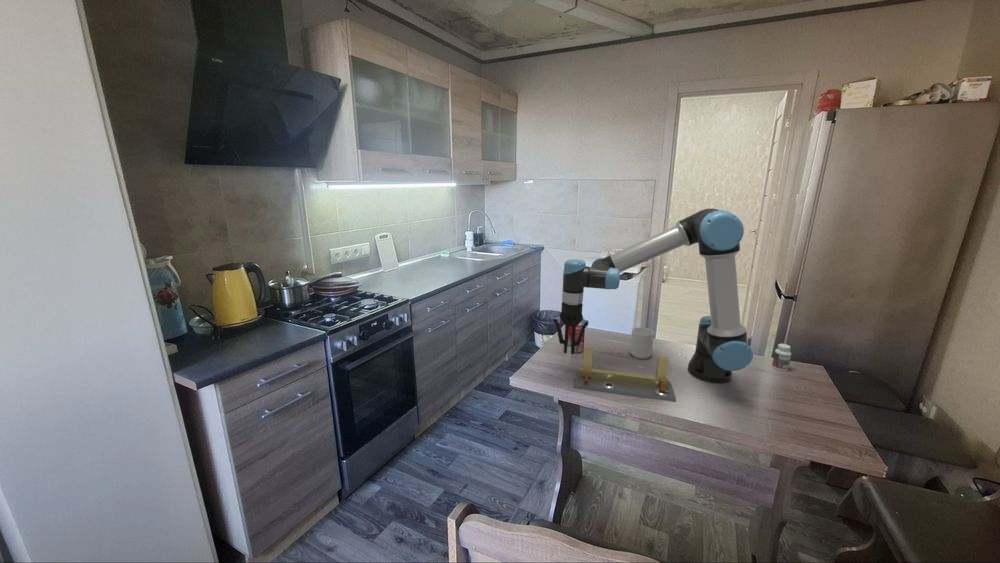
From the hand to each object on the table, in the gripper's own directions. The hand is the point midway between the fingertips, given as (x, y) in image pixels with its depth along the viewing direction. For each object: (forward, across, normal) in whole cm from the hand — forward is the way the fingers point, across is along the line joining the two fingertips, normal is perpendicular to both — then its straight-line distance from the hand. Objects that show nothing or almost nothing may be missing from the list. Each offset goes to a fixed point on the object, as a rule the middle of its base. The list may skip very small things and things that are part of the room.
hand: (568, 360), depth 148 cm
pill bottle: (+6, -82, -29) cm, 87 cm away
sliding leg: (+5, -7, +2) cm, 9 cm away
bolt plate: (+6, -20, +3) cm, 21 cm away
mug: (+6, -29, -28) cm, 41 cm away
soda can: (+6, -1, -24) cm, 25 cm away
